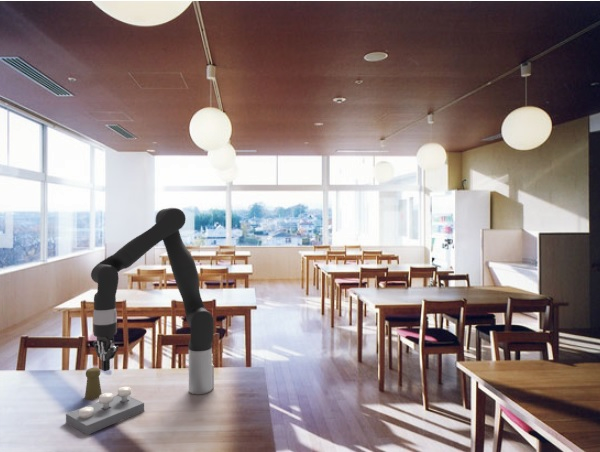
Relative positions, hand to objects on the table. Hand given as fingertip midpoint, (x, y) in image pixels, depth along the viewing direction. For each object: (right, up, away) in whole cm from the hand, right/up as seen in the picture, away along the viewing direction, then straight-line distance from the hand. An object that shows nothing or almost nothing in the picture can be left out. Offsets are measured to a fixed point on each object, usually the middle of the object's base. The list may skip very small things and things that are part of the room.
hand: (105, 370), depth 152 cm
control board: (0, -17, +1) cm, 17 cm away
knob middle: (0, -14, 0) cm, 14 cm away
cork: (-13, -16, +17) cm, 27 cm away
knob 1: (-4, -17, -5) cm, 18 cm away
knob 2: (+4, -14, +6) cm, 16 cm away
